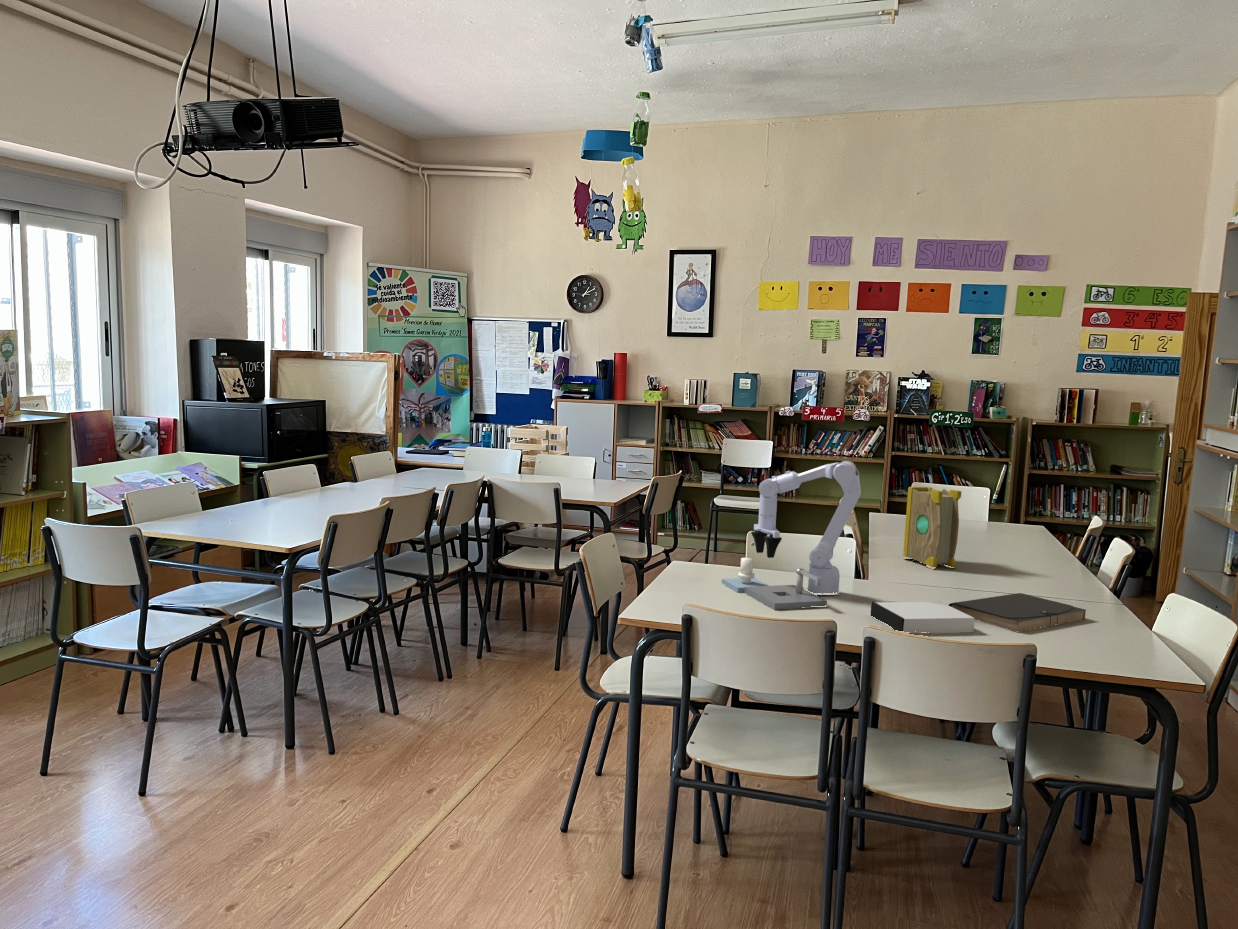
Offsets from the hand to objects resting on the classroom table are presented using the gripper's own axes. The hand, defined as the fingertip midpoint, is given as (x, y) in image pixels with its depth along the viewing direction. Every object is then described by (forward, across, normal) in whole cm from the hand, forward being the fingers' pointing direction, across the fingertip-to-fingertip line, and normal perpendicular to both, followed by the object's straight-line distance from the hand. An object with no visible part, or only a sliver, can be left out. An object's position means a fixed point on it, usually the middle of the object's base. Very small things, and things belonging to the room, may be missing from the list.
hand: (765, 555), depth 280 cm
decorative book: (+11, -21, +83) cm, 86 cm away
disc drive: (+11, +49, +25) cm, 56 cm away
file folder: (+11, +47, +62) cm, 78 cm away
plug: (+9, +1, -7) cm, 11 cm away
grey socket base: (+10, +18, -2) cm, 21 cm away
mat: (+10, +1, -7) cm, 13 cm away
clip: (+3, +23, +3) cm, 23 cm away
